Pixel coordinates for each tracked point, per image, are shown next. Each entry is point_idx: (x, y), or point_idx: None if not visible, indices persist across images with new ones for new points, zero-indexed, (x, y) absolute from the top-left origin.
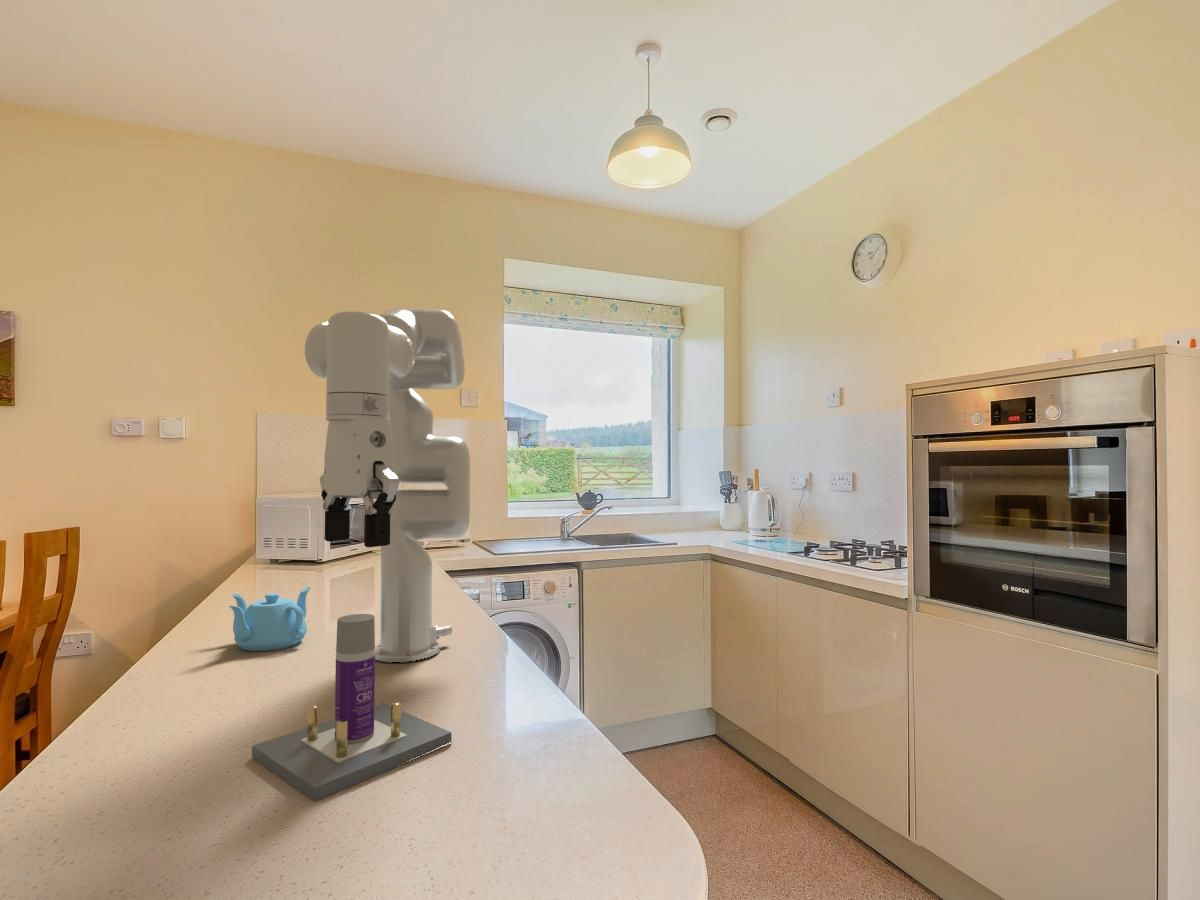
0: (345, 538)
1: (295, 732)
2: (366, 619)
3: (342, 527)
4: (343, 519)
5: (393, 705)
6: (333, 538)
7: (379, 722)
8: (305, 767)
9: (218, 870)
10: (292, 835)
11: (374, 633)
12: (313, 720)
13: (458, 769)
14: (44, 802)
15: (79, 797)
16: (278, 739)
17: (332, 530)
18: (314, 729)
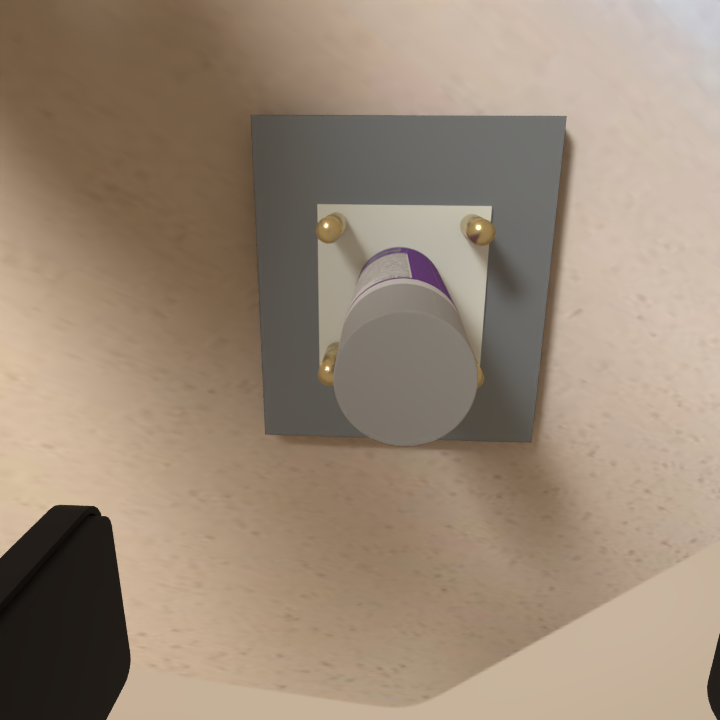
0: (108, 541)
1: (266, 353)
2: (465, 370)
3: (56, 645)
4: (2, 714)
5: (487, 243)
6: (118, 641)
7: (372, 206)
8: None
9: (578, 580)
10: (587, 494)
11: (449, 311)
12: None
13: (666, 192)
14: (192, 650)
15: (212, 622)
16: (276, 391)
17: (85, 711)
18: None
